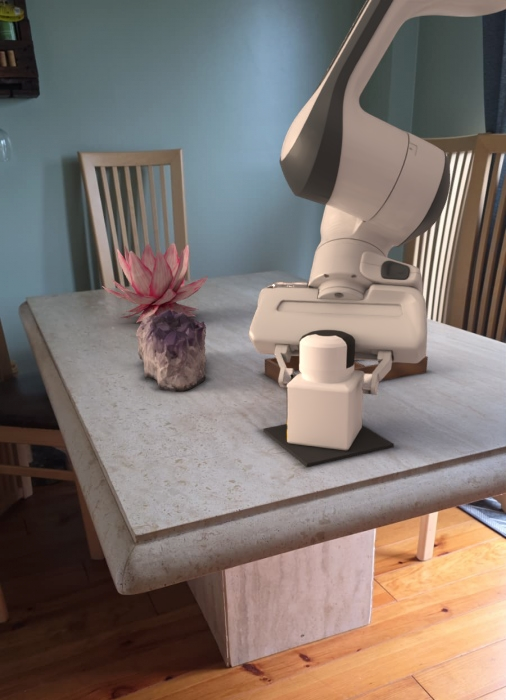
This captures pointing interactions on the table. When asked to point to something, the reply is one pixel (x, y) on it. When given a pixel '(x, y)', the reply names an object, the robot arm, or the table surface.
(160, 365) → the geode
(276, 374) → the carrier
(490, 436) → the table surface
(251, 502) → the table surface
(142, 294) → the decorative flower
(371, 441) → the coaster
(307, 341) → the medicine bottle
